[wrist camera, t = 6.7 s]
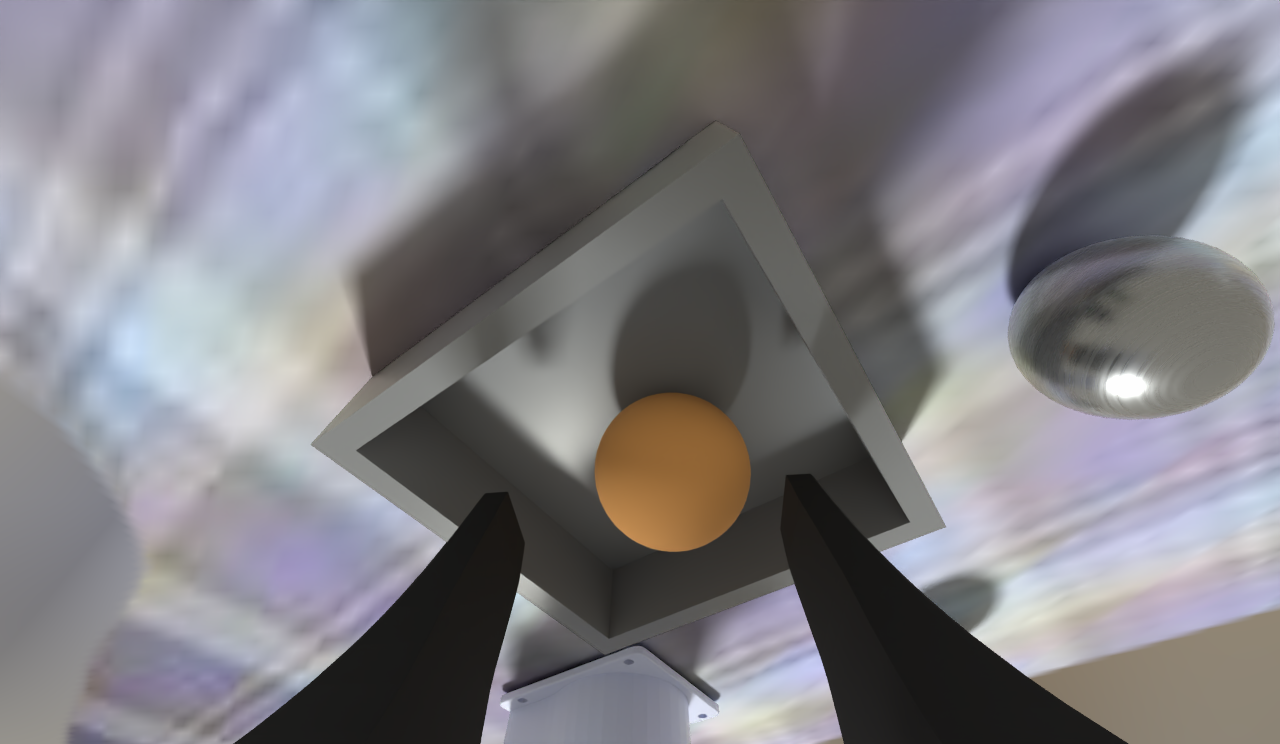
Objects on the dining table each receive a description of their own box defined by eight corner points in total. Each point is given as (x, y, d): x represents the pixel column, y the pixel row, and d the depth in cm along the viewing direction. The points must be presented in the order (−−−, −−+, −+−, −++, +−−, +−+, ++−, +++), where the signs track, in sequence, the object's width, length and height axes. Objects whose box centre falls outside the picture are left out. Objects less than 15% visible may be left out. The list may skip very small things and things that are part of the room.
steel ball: (992, 384, 15) (1109, 485, 11) (953, 275, 13) (1079, 354, 9) (1152, 311, 14) (1346, 400, 10) (1134, 178, 12) (1367, 225, 8)
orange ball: (632, 499, 17) (682, 609, 13) (549, 432, 14) (583, 546, 10) (728, 420, 16) (806, 510, 13) (662, 338, 14) (736, 421, 10)
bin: (609, 578, 20) (604, 655, 18) (371, 377, 15) (310, 444, 12) (895, 453, 16) (946, 527, 14) (715, 120, 11) (739, 132, 8)
